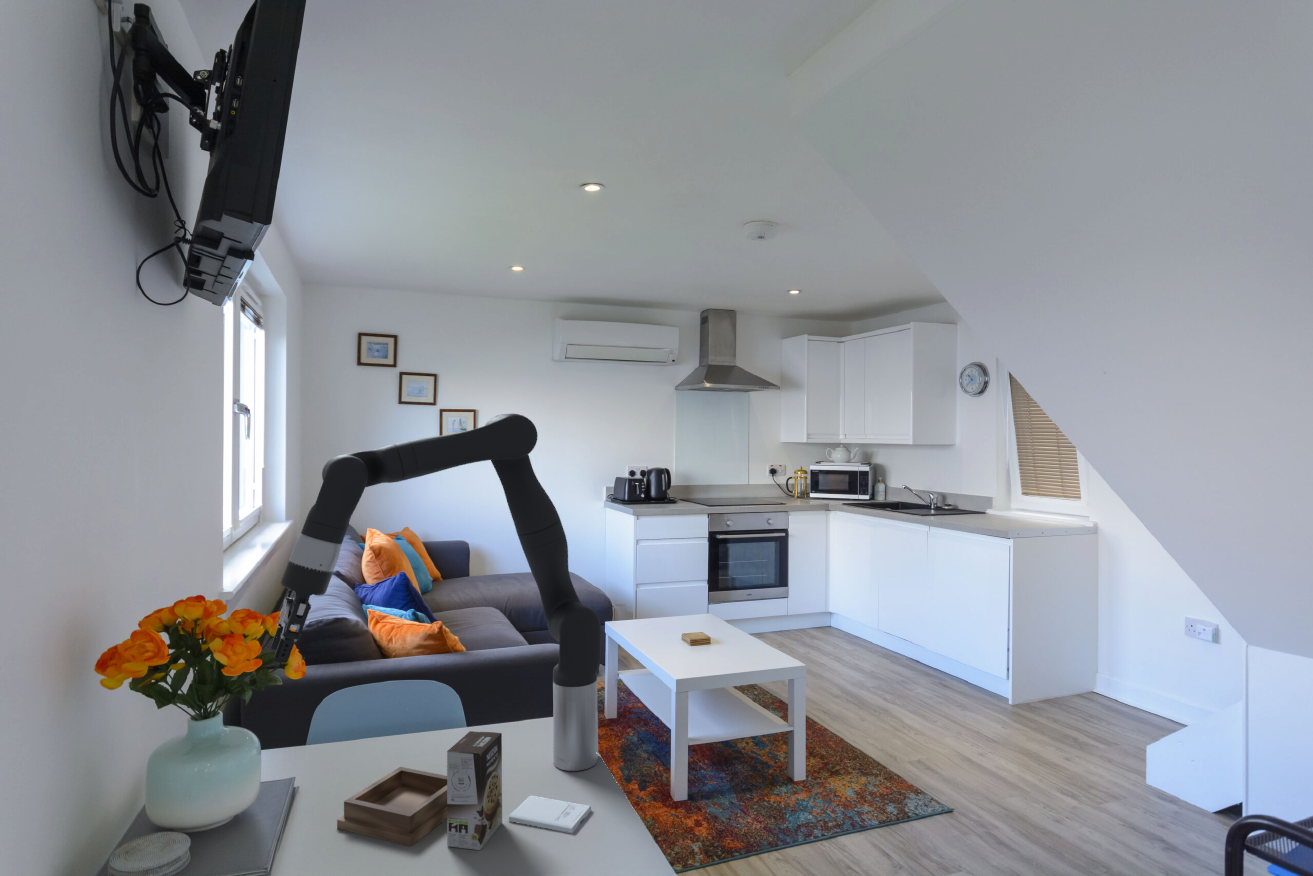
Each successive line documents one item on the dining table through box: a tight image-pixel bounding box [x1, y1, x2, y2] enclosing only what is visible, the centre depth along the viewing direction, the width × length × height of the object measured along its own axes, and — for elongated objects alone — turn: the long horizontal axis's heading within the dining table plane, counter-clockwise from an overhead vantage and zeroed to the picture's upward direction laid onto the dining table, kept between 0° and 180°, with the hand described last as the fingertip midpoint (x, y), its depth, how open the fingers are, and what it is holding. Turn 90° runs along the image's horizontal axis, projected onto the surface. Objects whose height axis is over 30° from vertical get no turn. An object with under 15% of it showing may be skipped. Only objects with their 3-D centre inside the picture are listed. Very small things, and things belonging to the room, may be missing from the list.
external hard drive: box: [508, 795, 592, 834], centre depth 132 cm, size 2×8×12 cm
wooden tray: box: [336, 766, 447, 847], centre depth 133 cm, size 16×16×4 cm
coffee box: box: [446, 730, 503, 851], centre depth 126 cm, size 9×6×16 cm
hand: (278, 655), depth 126 cm, fingers open, 8 cm apart
